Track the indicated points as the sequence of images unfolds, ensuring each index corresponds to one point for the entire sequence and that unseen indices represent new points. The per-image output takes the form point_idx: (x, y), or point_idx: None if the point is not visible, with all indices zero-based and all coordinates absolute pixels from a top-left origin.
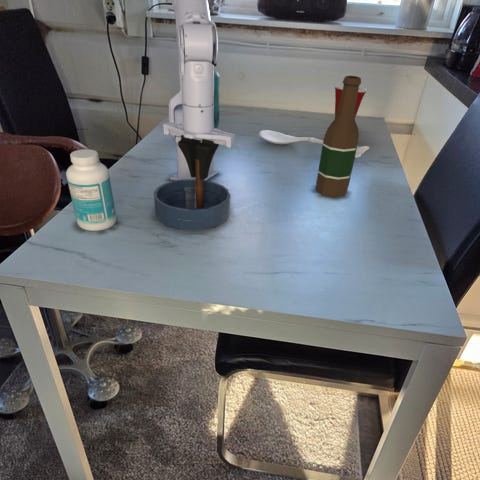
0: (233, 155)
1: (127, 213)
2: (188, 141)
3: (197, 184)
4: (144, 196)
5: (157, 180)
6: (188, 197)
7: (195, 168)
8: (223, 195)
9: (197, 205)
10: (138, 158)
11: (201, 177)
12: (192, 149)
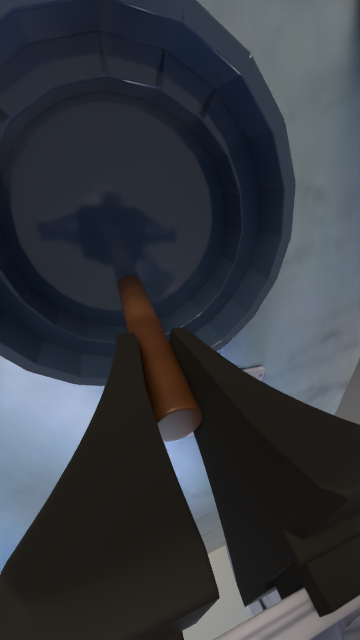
0: (190, 483)
1: (325, 129)
2: (324, 533)
3: (146, 317)
4: (297, 268)
5: (285, 349)
6: (185, 308)
7: (178, 367)
8: (61, 351)
9: (133, 278)
10: (331, 390)
11: (124, 337)
12: (246, 469)
